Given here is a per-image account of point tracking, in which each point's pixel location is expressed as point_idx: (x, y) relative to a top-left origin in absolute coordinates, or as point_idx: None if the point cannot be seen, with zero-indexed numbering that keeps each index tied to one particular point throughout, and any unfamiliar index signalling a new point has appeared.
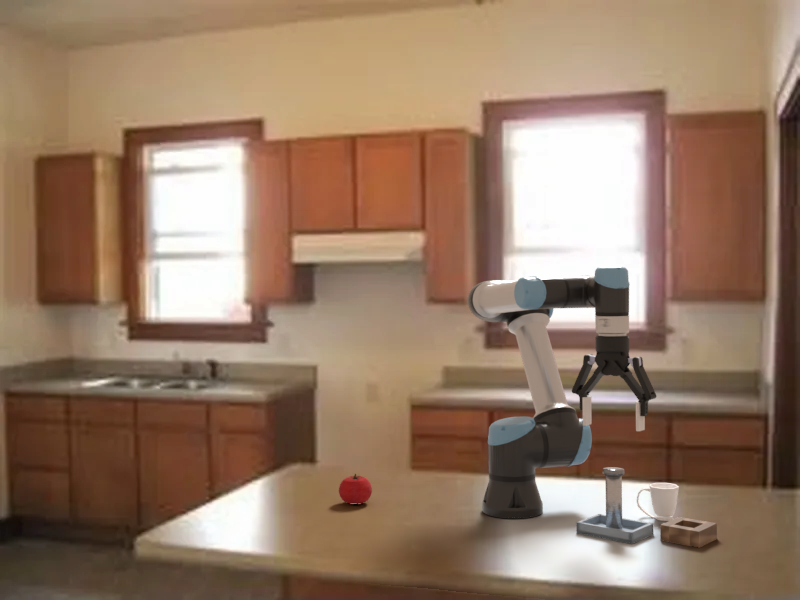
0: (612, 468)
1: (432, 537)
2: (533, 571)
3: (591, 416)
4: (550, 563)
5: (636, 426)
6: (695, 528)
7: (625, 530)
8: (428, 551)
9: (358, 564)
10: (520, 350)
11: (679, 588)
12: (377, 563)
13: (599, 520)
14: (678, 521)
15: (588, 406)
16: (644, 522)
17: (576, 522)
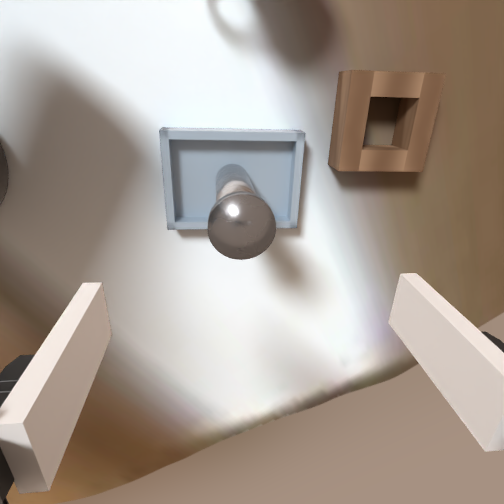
0: (233, 220)
1: None
2: (240, 402)
3: (87, 308)
4: (239, 370)
5: (402, 337)
6: (411, 152)
7: (280, 221)
8: None
9: (59, 495)
10: None
11: None
12: (71, 482)
13: (170, 141)
14: (364, 116)
15: (69, 389)
16: (285, 137)
17: (168, 229)
